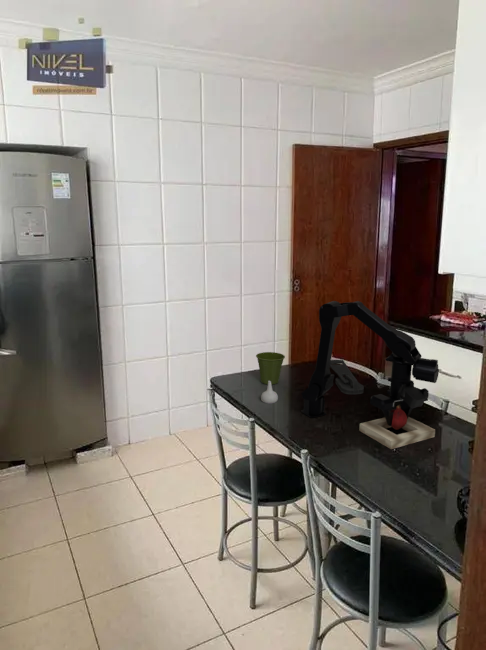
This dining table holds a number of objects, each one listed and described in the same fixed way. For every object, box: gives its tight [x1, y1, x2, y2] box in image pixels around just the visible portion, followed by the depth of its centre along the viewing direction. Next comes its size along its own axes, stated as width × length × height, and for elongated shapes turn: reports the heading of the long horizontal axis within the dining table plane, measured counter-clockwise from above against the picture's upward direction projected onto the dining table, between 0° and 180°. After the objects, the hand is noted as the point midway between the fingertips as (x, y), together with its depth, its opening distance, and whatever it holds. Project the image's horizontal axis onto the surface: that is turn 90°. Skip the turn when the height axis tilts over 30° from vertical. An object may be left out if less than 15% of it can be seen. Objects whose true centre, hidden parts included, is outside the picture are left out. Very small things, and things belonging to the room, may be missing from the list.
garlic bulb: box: [260, 381, 279, 405], centre depth 178 cm, size 6×6×8 cm
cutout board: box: [358, 416, 436, 450], centre depth 151 cm, size 18×14×2 cm
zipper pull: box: [330, 359, 365, 395], centre depth 197 cm, size 9×7×25 cm
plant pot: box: [255, 351, 286, 385], centre depth 197 cm, size 12×12×11 cm
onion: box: [390, 404, 407, 431], centre depth 150 cm, size 6×6×8 cm
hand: (396, 423), depth 151 cm, fingers closed on onion, 6 cm apart
